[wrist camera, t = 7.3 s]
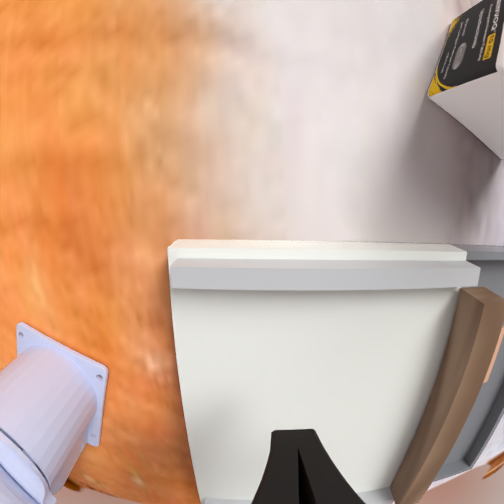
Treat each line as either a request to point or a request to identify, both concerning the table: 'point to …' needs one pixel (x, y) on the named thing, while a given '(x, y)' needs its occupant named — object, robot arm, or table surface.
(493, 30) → the medicine bottle
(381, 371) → the white rimmed panel
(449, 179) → the table surface
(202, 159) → the table surface
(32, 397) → the robot arm
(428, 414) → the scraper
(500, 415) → the box
